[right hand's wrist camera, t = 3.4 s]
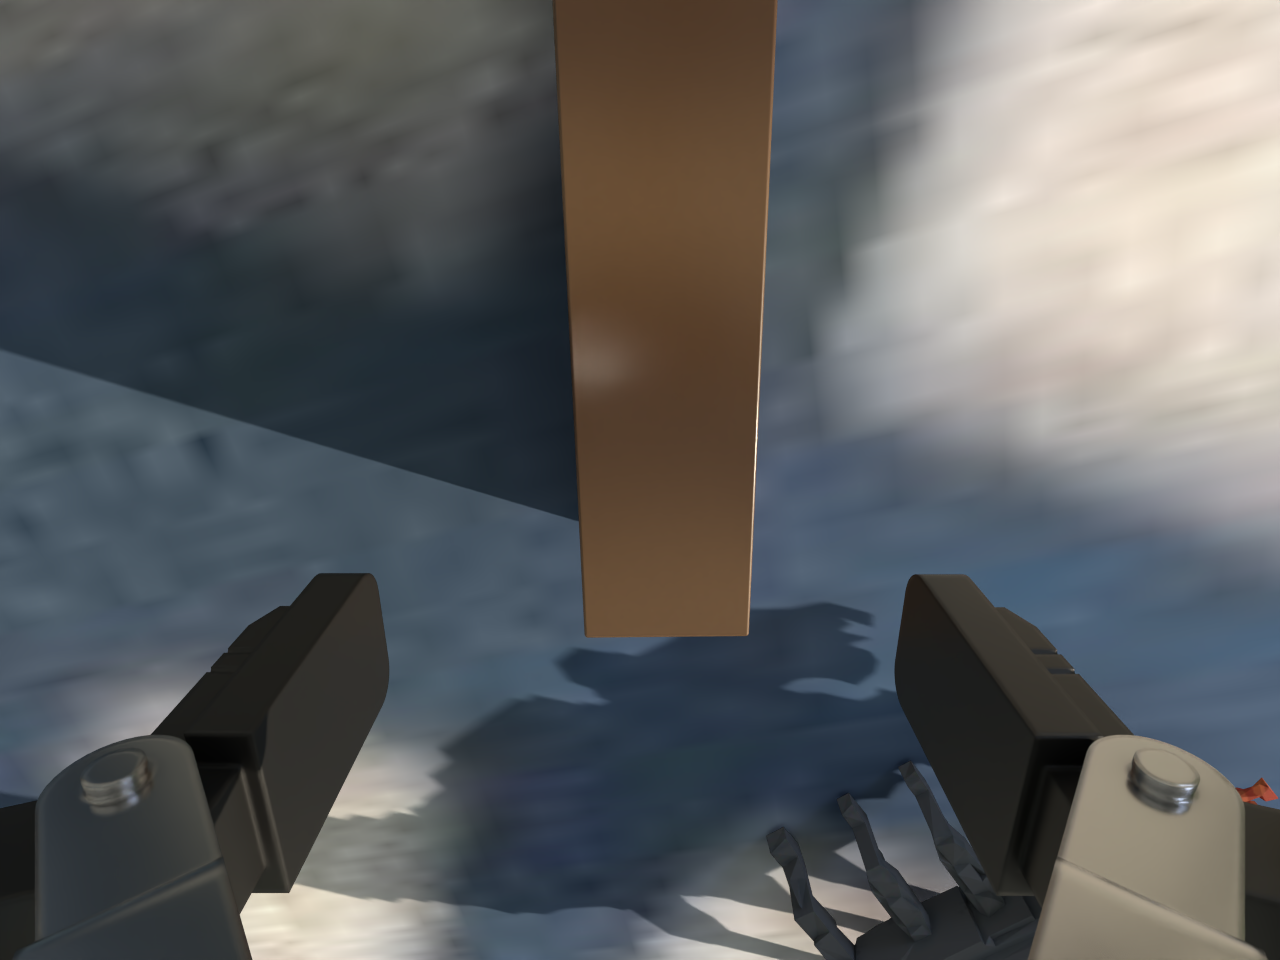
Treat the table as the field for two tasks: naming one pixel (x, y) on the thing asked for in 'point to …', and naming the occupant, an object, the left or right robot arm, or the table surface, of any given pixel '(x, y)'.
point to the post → (665, 301)
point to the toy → (939, 927)
